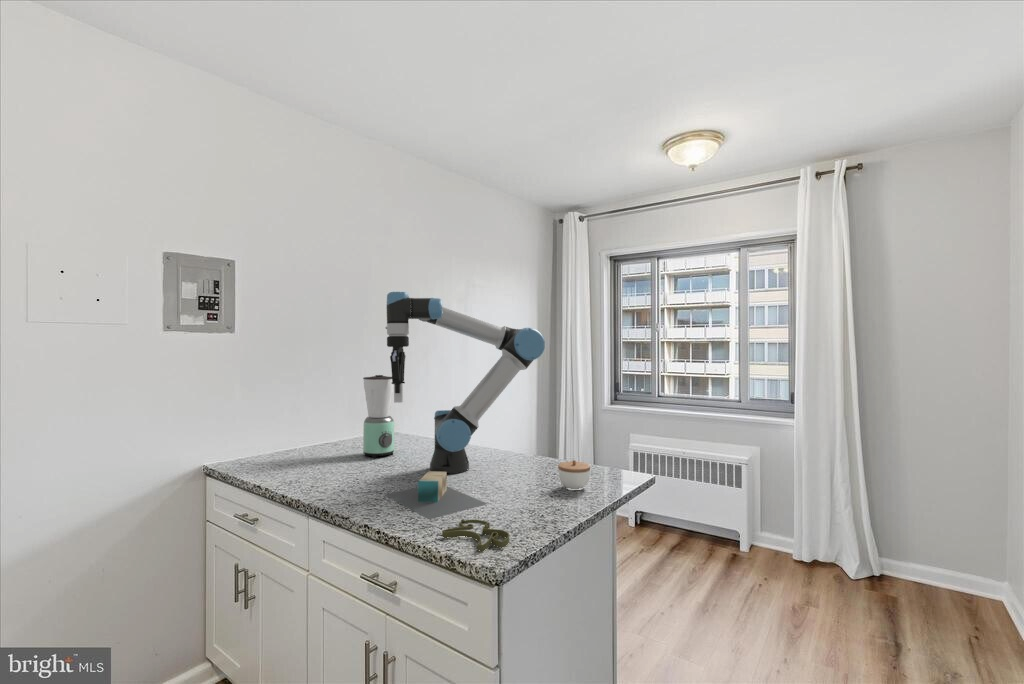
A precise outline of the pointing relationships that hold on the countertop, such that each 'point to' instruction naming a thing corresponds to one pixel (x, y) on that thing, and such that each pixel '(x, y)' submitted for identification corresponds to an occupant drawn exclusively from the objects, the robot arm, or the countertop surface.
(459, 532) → the cookie cutter
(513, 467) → the countertop surface
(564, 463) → the lidded jar
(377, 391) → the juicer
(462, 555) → the countertop surface
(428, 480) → the maple block
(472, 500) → the charcoal mat
